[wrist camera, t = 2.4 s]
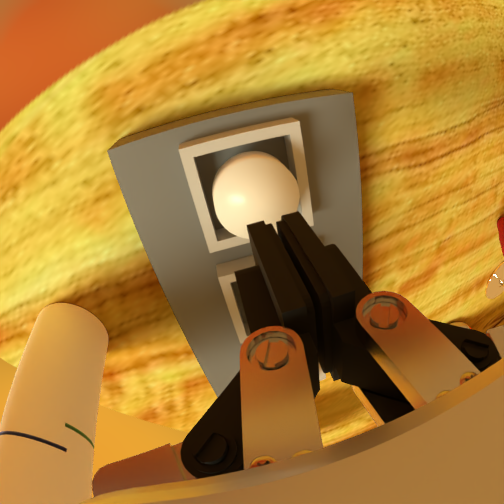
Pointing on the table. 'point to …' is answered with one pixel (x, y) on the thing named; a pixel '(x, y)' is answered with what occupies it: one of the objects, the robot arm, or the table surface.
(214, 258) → the button panel
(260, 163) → the cream button
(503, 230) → the strawberry
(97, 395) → the cylindrical container
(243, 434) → the robot arm
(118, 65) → the table surface
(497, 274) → the wineglass
